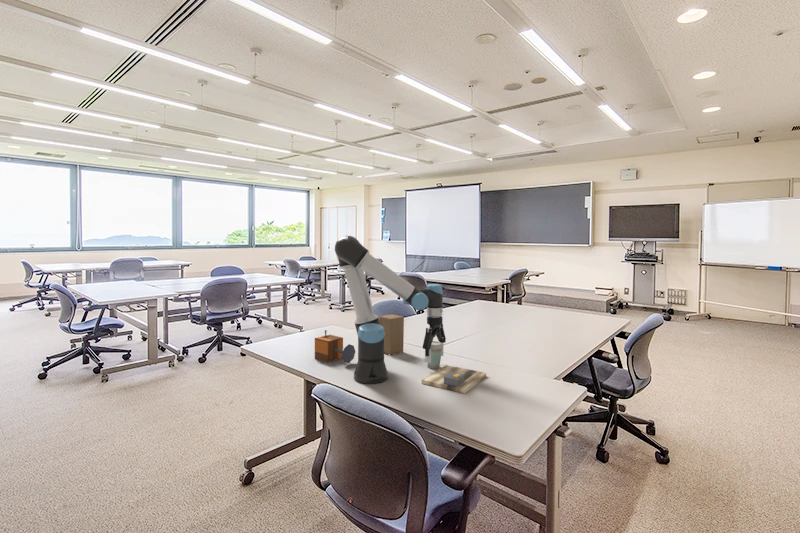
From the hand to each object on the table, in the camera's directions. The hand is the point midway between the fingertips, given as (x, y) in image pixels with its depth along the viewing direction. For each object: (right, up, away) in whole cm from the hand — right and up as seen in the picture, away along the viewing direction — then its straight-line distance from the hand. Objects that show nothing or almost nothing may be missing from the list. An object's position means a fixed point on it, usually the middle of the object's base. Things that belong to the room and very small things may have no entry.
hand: (434, 358), depth 190 cm
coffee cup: (-1, -4, 0) cm, 4 cm away
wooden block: (-22, -2, +26) cm, 34 cm away
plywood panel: (+7, -5, -17) cm, 19 cm away
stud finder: (+6, -4, -25) cm, 26 cm away
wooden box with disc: (-50, -3, +9) cm, 51 cm away
